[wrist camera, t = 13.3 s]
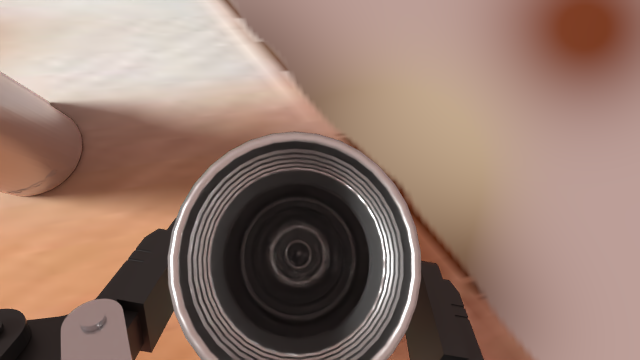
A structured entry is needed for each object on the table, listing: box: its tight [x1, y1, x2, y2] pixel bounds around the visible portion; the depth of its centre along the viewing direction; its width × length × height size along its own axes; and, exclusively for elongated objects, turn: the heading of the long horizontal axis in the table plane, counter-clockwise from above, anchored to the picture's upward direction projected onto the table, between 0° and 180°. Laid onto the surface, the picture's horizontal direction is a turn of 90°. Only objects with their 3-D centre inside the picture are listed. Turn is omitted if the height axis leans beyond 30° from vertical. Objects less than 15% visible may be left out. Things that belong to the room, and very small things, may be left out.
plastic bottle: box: [168, 132, 421, 360], centre depth 14 cm, size 6×7×20 cm
